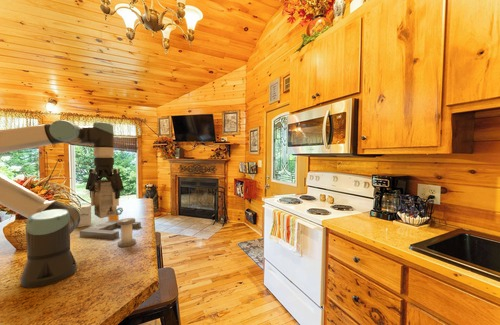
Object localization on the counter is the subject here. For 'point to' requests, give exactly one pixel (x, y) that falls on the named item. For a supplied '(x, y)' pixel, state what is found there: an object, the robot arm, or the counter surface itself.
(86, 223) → the supplement box
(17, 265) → the counter surface
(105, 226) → the notched board
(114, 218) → the grey orange looped piece
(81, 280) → the counter surface
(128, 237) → the spool
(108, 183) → the coffee box
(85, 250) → the counter surface
